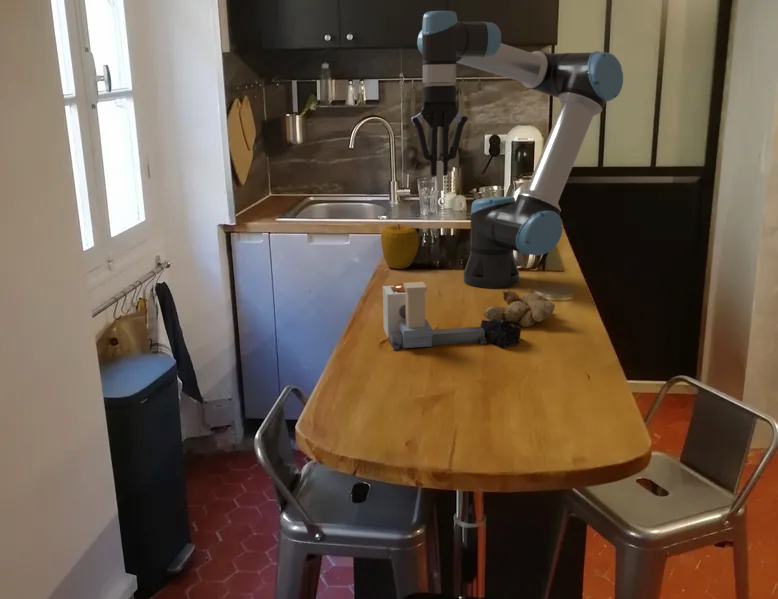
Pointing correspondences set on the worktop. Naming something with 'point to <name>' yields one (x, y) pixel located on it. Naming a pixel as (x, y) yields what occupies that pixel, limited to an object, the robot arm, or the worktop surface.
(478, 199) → the robot arm
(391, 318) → the white square housing
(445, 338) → the rail
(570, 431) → the worktop surface
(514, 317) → the ginger root
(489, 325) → the rock
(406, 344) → the carriage
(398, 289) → the copper knob
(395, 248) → the apple
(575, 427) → the worktop surface
